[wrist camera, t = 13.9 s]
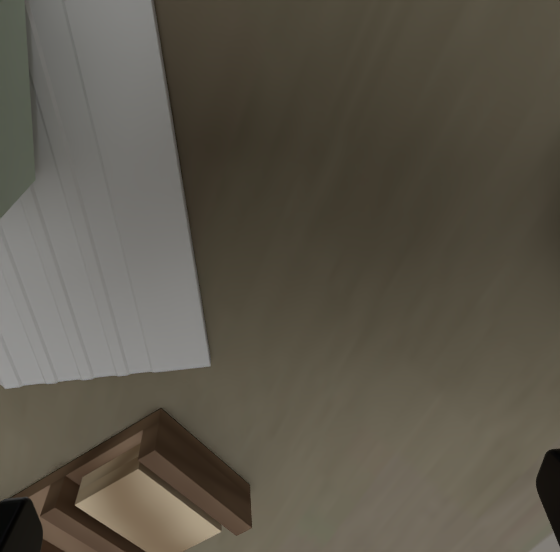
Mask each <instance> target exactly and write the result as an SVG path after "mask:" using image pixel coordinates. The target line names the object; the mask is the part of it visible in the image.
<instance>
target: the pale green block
mask: <svg viewBox="0 0 560 552" xmlns="http://www.w3.org/2000/svg"><path fill="white" fill-rule="evenodd" d="M35 180H36V178H35V162H34V146H33V130H32V114H31V98H30V82H29V66H28V50H27V34H26V18H25V2H24V0H0V219H1V218H2V216H3V215H4V214H5V213H6V212H7V211H8V210H9V209H10V208H11V207H12V205H13V204H14V203H15V202H16V201H17V200H18V199H19V198H20V197H21V195H22V194H23V193H24V192H25V191H26V190H27V189H28V188H29V187H30V186H31V184H32V183H33V182H34V181H35Z"/></svg>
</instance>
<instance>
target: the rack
mask: <svg viewBox="0 0 560 552" xmlns="http://www.w3.org/2000/svg"><path fill="white" fill-rule="evenodd" d="M140 443H141V445H140V450H139V456H138V461H139V462H141V463H142V464H143V465H145V466H146V467H147V468H149V469H150V470H151V471H152V472H154V473H155V474H156V475H158V476H159V477H160V478H162V479H163V480H164V481H165V482H167V483H168V484H169V485H171V486H172V487H173V488H175V489H176V490H177V491H179V492H180V493H181V494H182V495H184V496H185V497H186V498H188V499H189V500H190V501H192V502H193V503H194V504H195V505H197V506H198V507H199V508H201V509H202V510H203V511H205V512H206V513H207V514H209V515H210V516H211V517H212V518H214V519H215V520H216V521H218V522H219V523H220V524H222V525H223V526H224V527H225V528H227V529H228V530H229V531H231V532H232V533H233V534H235V535H236V536H237V535H239V534H241V533H243V532H245V531H247V530H249V529H251V528H252V518H251V499H250V485H249V484H248V483H247V482H246V481H244V480H243V479H242V478H241V477H240V476H239V475H237V474H236V473H235V472H234V471H233V470H232V469H230V468H229V467H228V466H227V465H226V464H225V463H224V462H222V461H221V460H220V459H219V458H218V457H217V456H215V455H214V454H213V453H212V452H211V451H210V450H209V449H207V448H206V447H205V446H204V445H203V444H202V443H200V442H199V441H198V440H197V439H196V438H195V437H193V436H192V435H191V434H190V433H189V432H188V431H187V430H185V429H184V428H183V427H182V426H181V425H180V424H178V423H177V422H176V421H175V420H174V419H173V418H171V417H170V416H169V415H168V414H167V413H166V412H165V411H163V410H162V409H159V410H157V411H156V412H154V413H152V414H151V415H149V416H147V417H146V418H144V419H142V420H141V421H139V422H137V423H136V424H134V425H132V426H131V427H129V428H127V429H126V430H124V431H122V432H120V433H119V434H117V435H115V436H114V437H112V438H110V439H109V440H107V441H105V442H104V443H102V444H100V445H99V446H97V447H95V448H94V449H92V450H90V451H89V452H87V453H85V454H83V455H82V456H80V457H78V458H77V459H75V460H73V461H72V462H70V463H68V464H67V465H65V466H63V467H62V468H60V469H58V470H57V471H55V472H53V473H52V474H50V475H48V476H47V477H45V478H43V479H41V480H40V481H38V482H36V483H35V484H33V485H31V486H30V487H28V488H26V489H25V490H23V491H21V492H20V493H18V494H16V495H15V496H13V497H11V498H18V497H28V498H30V499H31V500H32V502H33V504H34V507H35V509H36V512H37V514H38V517H39V519H40V521H41V524H42V527H43V541H42V547H41V552H146V551H144V550H143V549H141V548H140V547H138V546H136V545H135V544H133V543H132V542H130V541H129V540H127V539H126V538H124V537H123V536H121V535H120V534H118V533H116V532H115V531H113V530H112V529H110V528H109V527H107V526H106V525H104V524H103V523H101V522H100V521H98V520H96V519H95V518H93V517H92V516H90V515H89V514H87V513H86V512H84V511H83V510H81V509H80V508H78V507H76V506H75V502H76V498H77V495H78V491H79V488H80V484H81V481H82V477H84V476H85V475H87V474H89V473H91V472H92V471H94V470H96V469H97V468H99V467H101V466H103V465H104V464H106V463H108V462H109V461H111V460H113V459H115V458H116V457H118V456H120V455H121V454H123V453H125V452H127V451H128V450H130V449H132V448H133V447H135V446H137V445H139V444H140Z"/></svg>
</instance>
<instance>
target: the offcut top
mask: <svg viewBox="0 0 560 552" xmlns="http://www.w3.org/2000/svg"><path fill="white" fill-rule="evenodd" d="M75 506H76V507H78V508H80V509H81V510H83V511H84V512H86V513H87V514H89V515H90V516H92V517H93V518H95V519H96V520H98V521H100V522H101V523H103V524H104V525H106V526H107V527H109V528H110V529H112V530H113V531H115V532H116V533H118V534H120V535H121V536H123V537H124V538H126V539H127V540H129V541H130V542H132V543H133V544H135V545H136V546H138V547H140V548H141V549H143V550H144V551H146V552H183V551H184V550H186V549H188V548H190V547H192V546H194V545H196V544H198V543H200V542H202V541H204V540H206V539H208V538H210V537H212V536H214V535H216V534H218V533H220V532H221V524H220V523H219V522H218V521H216V520H215V519H214V518H212V517H211V516H210V515H209V514H207V513H206V512H205V511H203V510H202V509H201V508H199V507H198V506H197V505H195V504H194V503H193V502H192V501H190V500H189V499H188V498H186V497H185V496H184V495H182V494H181V493H180V492H179V491H177V490H176V489H175V488H173V487H172V486H171V485H169V484H168V483H167V482H165V481H164V480H163V479H162V478H160V477H159V476H158V475H156V474H155V473H154V472H152V471H151V470H150V469H149V468H147V467H146V466H145V465H143V464H142V463H141V462H139V461H138V457H136V458H135V459H133V460H131V461H129V462H128V463H126V464H124V465H122V466H121V467H119V468H117V469H116V470H114V471H112V472H110V473H109V474H107V475H105V476H103V477H102V478H100V479H98V480H96V481H95V482H93V483H91V484H90V485H88V486H86V487H84V488H83V489H81V490H79V491H78V495H77V498H76V502H75Z"/></svg>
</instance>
